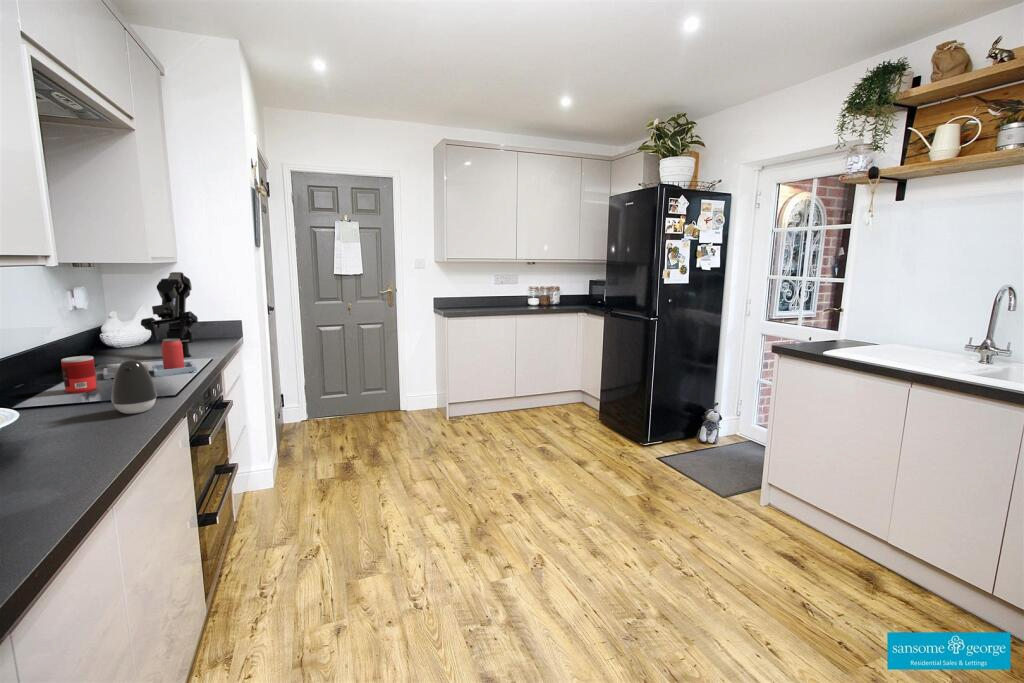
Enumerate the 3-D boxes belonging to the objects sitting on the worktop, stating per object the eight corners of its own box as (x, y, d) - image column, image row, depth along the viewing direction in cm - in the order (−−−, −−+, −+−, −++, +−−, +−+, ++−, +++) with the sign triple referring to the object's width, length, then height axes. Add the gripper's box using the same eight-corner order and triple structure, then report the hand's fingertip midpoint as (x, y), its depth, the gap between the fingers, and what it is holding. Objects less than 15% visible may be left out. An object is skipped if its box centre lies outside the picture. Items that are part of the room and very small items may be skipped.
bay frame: (104, 373, 181) (103, 368, 181) (147, 368, 189) (146, 364, 189) (104, 380, 171) (103, 374, 171) (149, 375, 179) (148, 369, 179)
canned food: (103, 387, 161) (99, 356, 159) (80, 394, 153) (75, 360, 151) (83, 387, 162) (78, 355, 160) (58, 393, 154) (54, 360, 152)
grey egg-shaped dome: (107, 418, 130) (100, 364, 128) (120, 408, 140) (114, 357, 137) (152, 414, 134) (146, 361, 132) (162, 404, 144) (157, 355, 141)
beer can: (167, 372, 181) (164, 341, 179) (161, 370, 185) (157, 339, 183) (187, 369, 186) (184, 339, 184) (180, 367, 190) (177, 337, 188)
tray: (152, 370, 186) (152, 365, 186) (192, 366, 195) (191, 361, 194) (155, 377, 177) (154, 371, 176) (196, 372, 185) (196, 366, 184)
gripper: (132, 300, 188) (130, 335, 182) (183, 292, 191) (183, 326, 185) (150, 312, 198) (148, 346, 192) (198, 305, 201) (198, 338, 195)
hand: (169, 339), depth 191 cm, fingers open, 9 cm apart
